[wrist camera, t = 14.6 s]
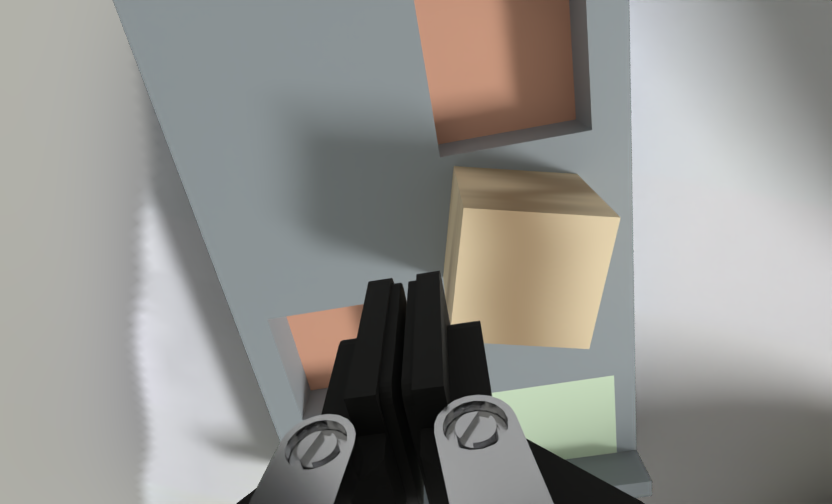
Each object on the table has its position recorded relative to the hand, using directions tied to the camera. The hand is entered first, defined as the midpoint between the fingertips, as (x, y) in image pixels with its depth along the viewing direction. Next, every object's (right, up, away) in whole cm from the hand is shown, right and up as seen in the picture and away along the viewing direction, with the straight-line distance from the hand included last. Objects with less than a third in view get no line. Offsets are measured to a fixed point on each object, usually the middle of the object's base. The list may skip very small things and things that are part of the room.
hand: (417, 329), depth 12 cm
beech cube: (+4, +3, +10) cm, 11 cm away
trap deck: (0, +4, +12) cm, 13 cm away
